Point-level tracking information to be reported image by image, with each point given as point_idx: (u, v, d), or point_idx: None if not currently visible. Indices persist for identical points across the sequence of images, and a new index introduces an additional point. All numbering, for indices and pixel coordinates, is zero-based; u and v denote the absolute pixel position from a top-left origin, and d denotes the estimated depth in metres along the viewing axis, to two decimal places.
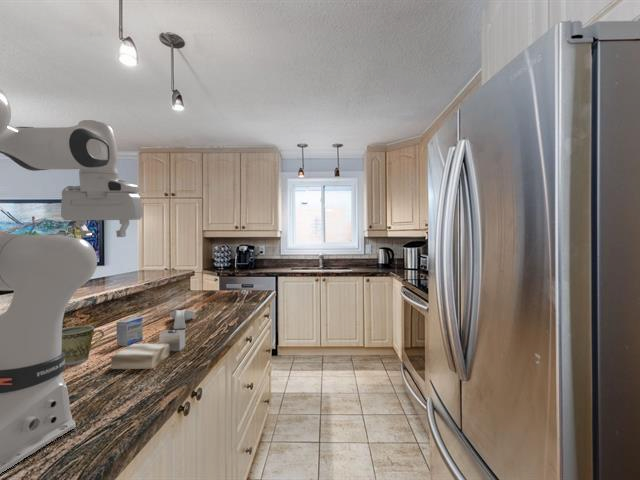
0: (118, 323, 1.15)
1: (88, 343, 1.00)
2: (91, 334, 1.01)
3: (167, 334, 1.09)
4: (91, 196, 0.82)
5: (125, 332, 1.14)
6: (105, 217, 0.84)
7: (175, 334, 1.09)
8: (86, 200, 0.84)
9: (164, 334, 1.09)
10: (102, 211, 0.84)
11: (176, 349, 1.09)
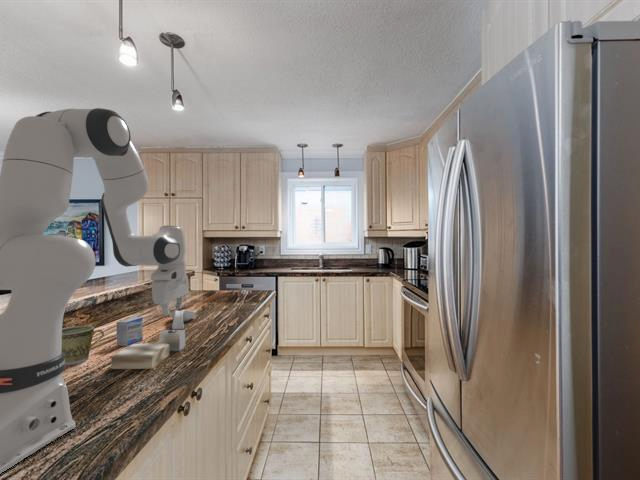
0: (118, 323, 1.15)
1: (88, 343, 1.00)
2: (91, 334, 1.01)
3: (167, 334, 1.09)
4: None
5: (125, 332, 1.14)
6: None
7: (175, 334, 1.09)
8: None
9: (164, 334, 1.09)
10: None
11: (177, 349, 1.09)
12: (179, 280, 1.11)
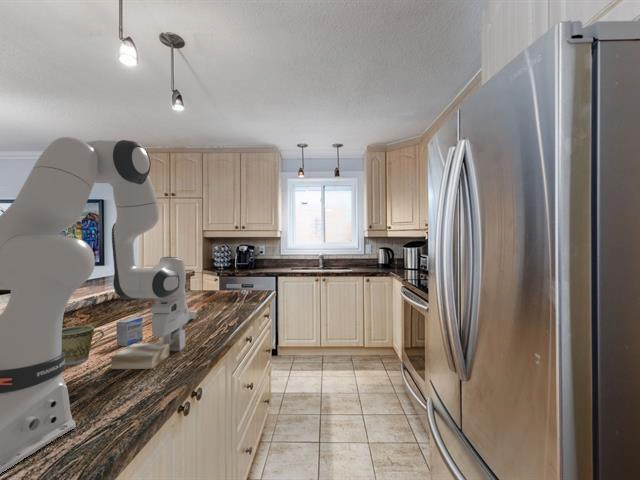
0: (118, 323, 1.15)
1: (88, 343, 1.00)
2: (91, 334, 1.01)
3: None
4: None
5: (125, 332, 1.14)
6: None
7: (175, 334, 1.09)
8: None
9: None
10: None
11: (177, 349, 1.09)
12: (179, 311, 1.10)
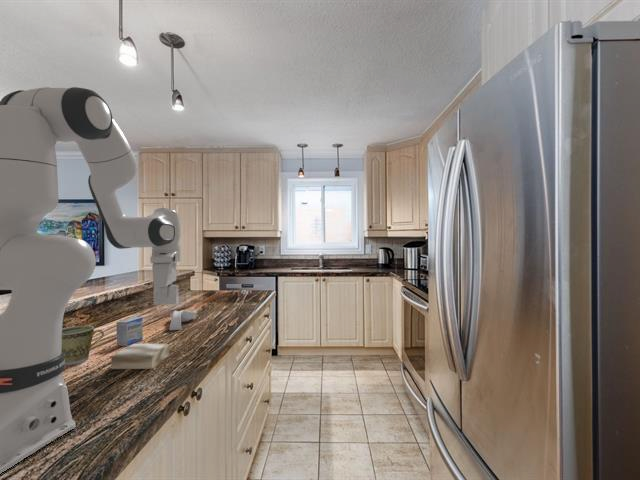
0: (118, 323, 1.15)
1: (88, 343, 1.00)
2: (91, 334, 1.01)
3: None
4: None
5: (125, 332, 1.14)
6: None
7: (171, 287, 1.07)
8: None
9: (159, 287, 1.06)
10: None
11: (173, 302, 1.07)
12: (175, 264, 1.09)
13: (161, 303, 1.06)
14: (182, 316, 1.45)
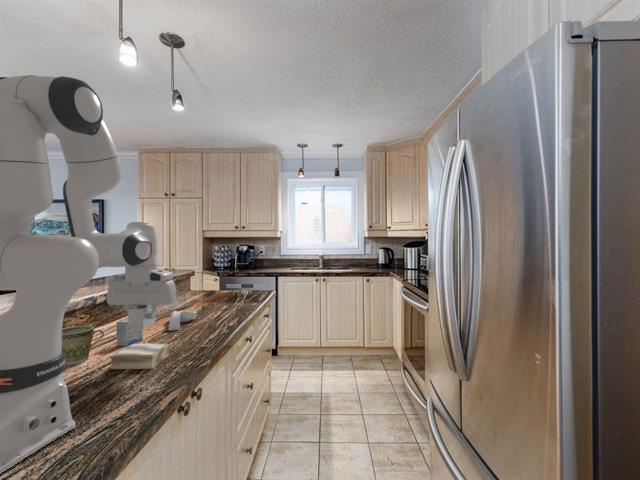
0: (118, 323, 1.15)
1: (88, 343, 1.00)
2: (91, 334, 1.01)
3: (147, 307, 0.99)
4: (134, 285, 0.96)
5: (125, 332, 1.14)
6: (145, 302, 0.98)
7: None
8: (129, 288, 0.98)
9: (146, 308, 0.98)
10: (142, 297, 0.98)
11: (153, 321, 1.02)
12: None
13: (147, 325, 0.99)
14: (182, 316, 1.45)
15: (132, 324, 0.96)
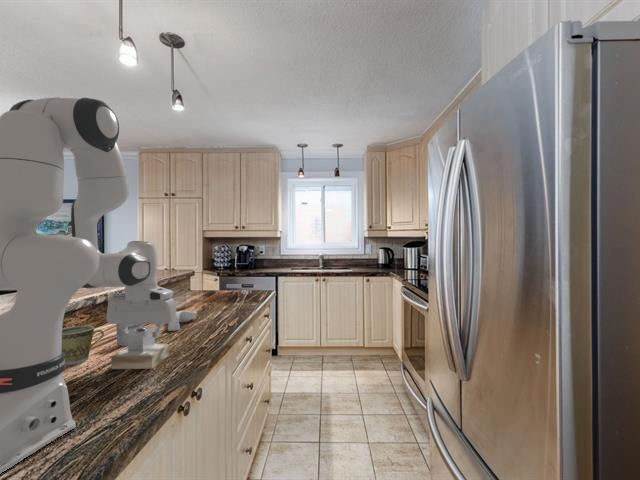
0: None
1: (88, 343, 1.00)
2: (91, 334, 1.01)
3: (147, 331, 0.99)
4: (134, 304, 0.96)
5: None
6: (144, 321, 0.98)
7: (152, 328, 1.01)
8: (129, 307, 0.98)
9: (145, 332, 0.98)
10: (142, 316, 0.98)
11: (153, 344, 1.02)
12: None
13: (147, 348, 0.98)
14: (181, 316, 1.44)
15: (131, 348, 0.96)
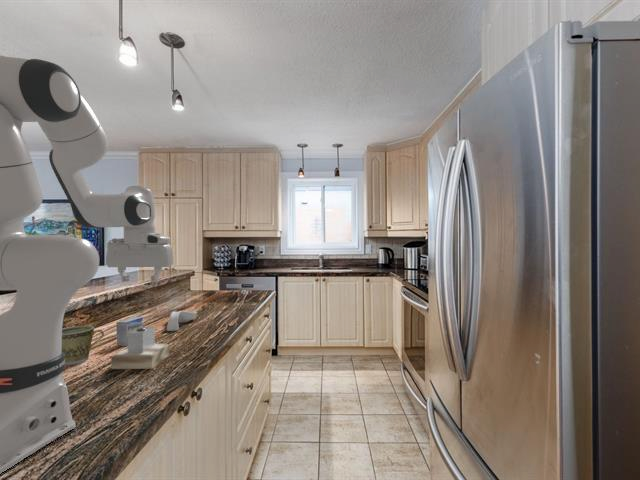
0: (118, 323, 1.15)
1: (88, 343, 1.00)
2: (91, 334, 1.01)
3: (147, 331, 0.99)
4: (132, 247, 0.99)
5: (125, 332, 1.14)
6: (142, 265, 1.01)
7: (152, 328, 1.01)
8: (127, 251, 1.01)
9: (145, 332, 0.98)
10: (140, 260, 1.01)
11: (153, 344, 1.02)
12: None
13: (147, 348, 0.98)
14: (181, 317, 1.44)
15: (131, 348, 0.96)
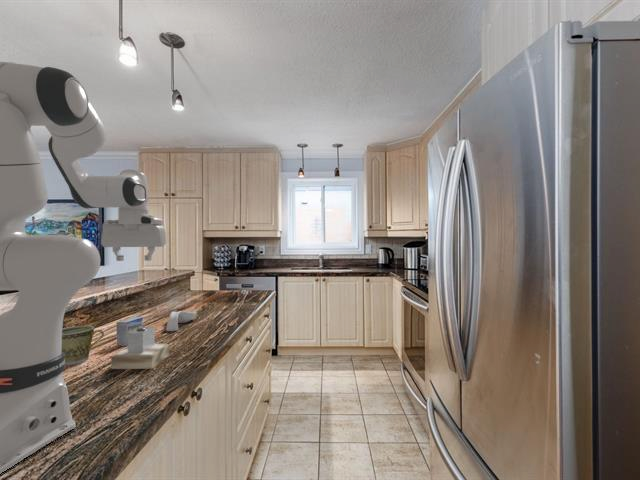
0: (118, 323, 1.15)
1: (88, 343, 1.00)
2: (91, 334, 1.01)
3: (147, 331, 0.99)
4: (127, 228, 1.04)
5: (125, 332, 1.14)
6: (136, 244, 1.06)
7: (152, 328, 1.01)
8: (122, 231, 1.06)
9: (145, 332, 0.98)
10: (134, 240, 1.06)
11: (153, 344, 1.02)
12: None
13: (147, 348, 0.98)
14: (181, 317, 1.44)
15: (131, 348, 0.96)
